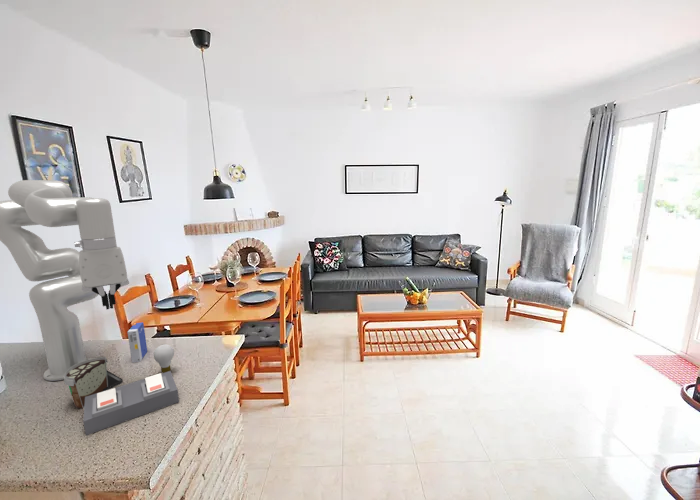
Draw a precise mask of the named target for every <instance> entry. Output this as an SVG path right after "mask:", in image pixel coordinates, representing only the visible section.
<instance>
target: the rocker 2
mask: <svg viewBox="0 0 700 500" xmlns="http://www.w3.org/2000/svg"><path fill="white" fill-rule="evenodd" d="M161 374H162V372H161V373H157V374H154V375H151V376H150V375H149V376H147V377H144V379H145V382H146V387H147V392H148V394H150V393H153V392H156V391H159V390H162V389H165V388H164V384H163V380H162V376H161Z"/></svg>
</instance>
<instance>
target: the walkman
mask: <svg viewBox="0 0 700 500" xmlns="http://www.w3.org/2000/svg"><path fill="white" fill-rule="evenodd" d="M127 336H128V337H127V338H128V345H129V350H130V357H131V358H130V359H131V363H140V362H142V360H143V358H144V357H145V356H146V354H147V352H148V347H147V339H146V331H145V325H144V322H135V323H133V325H132V326H131V327H130V329H128V331H127Z"/></svg>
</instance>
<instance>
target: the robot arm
mask: <svg viewBox="0 0 700 500" xmlns="http://www.w3.org/2000/svg"><path fill="white" fill-rule="evenodd" d="M7 193H8V197H9V198H10V200H9V199H7V200H1V201H0V242H1V243H2V244H3V245H4V246H5V247H6V248H7V249H8V251H9V252H10V254H11V256H12V258H13V260H14V261H15V263H16V264H17V267H18V269H19V270H20V272H21V274H22V275H23V277H24V278H25V279H26V280H28V281H30V282H40V283H37V284H35V285H33V287H31V289H30V290H29V293H28V296H29V300H30V303H31V305H32V308H33V309H34V311H35V314H36V317H37V320H38V323H39V329H40V333H41V338H42V342H43V343H42V344H43V347H44V351H45V356H46V360H47V361H46V362H47V365H48V368H47V369H45V371H44V373H43V379H44V380H46V381H49V382H54V381H64V376H65V373H66V371H67V370H68V369H69V368H71V367H72V366H74V365H76V364H78V363H80V362H83V361H86V360H89V359H90V358H88V357H86V351H85V347H84V341H83V337H82V336H83V335H82V330H81V324H80V319H79V317H78V315H77V314H76V313H74V312H72V311H71V310H69V309H68V307H71V306H74V305H77V304H80V303H84V302H88V301H90V300H93V299H96V298H97V297H98V296H100V297H101V303H102V307H105V308H106V310H109V309H114V305H117V304H116V303H117V302H116V296H115V294H116V292H117V291H118V290H119V289H120V288H121V287H124V286H127V285H128V286H129V284H130V281H129V279H128V273H127V272H128V271H127V267H126V262H125V258H124V255H123V252H122V249H121V247H120V246H118V245H117V239H116V231H115V226H114V219H113V213H112V212H113V211H112V206H111V205H112V204H111V202H110V201H109V199H106V198H95V197H88V196H87V197H80V196H79V197H73V192H72V189H71V188H70V186H69V185H68V184H67V183H66V182H63V181H61V180H56V179H55V180H52V179H48V180H47V179H44V180H43V179H40V180H39V179H24V180H23V179H22V180H19V181H16V182H14V183H12V184H11V185H10V186H9V188H8V190H7ZM26 226H27V227H28V226H29V227H30V226H43V227H47V228H60V227H70V226H71V227H73V226H78V231H79V236H80V240H79V241H74V243H73V244H74V247H75V248H81V249H82V250H80V251H78V250H77V249H75V248H71V247H64V248H57V249H50V248H48V247H47V245H46V243H45V242H44V240H43V238H41V237H40V236H38V235H37V234H35V233H34V232H32V231H31V230H28V229H25V228H23V227H26ZM106 286H109V290H108V293H107V291H106V290H105V289H104V287H106Z"/></svg>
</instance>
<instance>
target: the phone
mask: <svg viewBox="0 0 700 500" xmlns="http://www.w3.org/2000/svg"><path fill="white" fill-rule="evenodd" d="M107 379H108V387H106V388H104V389H103V391H106V390H109V389H113V388H116V387H118V386H119V385H121V384H123V382H124V381H123V378H122V377H120V376H118V375H116V374H114V373H112V372H110V371H109V370H107Z"/></svg>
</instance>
